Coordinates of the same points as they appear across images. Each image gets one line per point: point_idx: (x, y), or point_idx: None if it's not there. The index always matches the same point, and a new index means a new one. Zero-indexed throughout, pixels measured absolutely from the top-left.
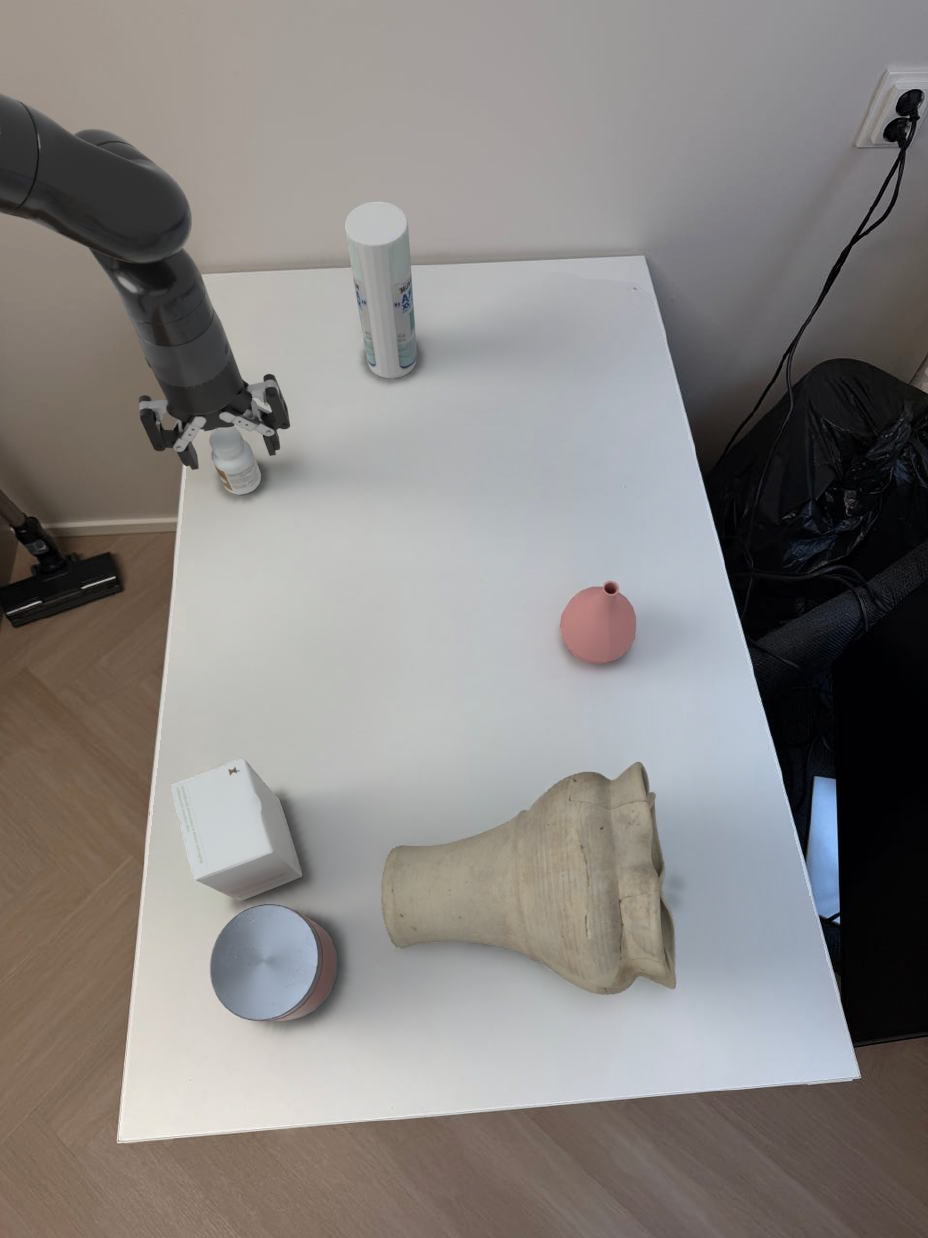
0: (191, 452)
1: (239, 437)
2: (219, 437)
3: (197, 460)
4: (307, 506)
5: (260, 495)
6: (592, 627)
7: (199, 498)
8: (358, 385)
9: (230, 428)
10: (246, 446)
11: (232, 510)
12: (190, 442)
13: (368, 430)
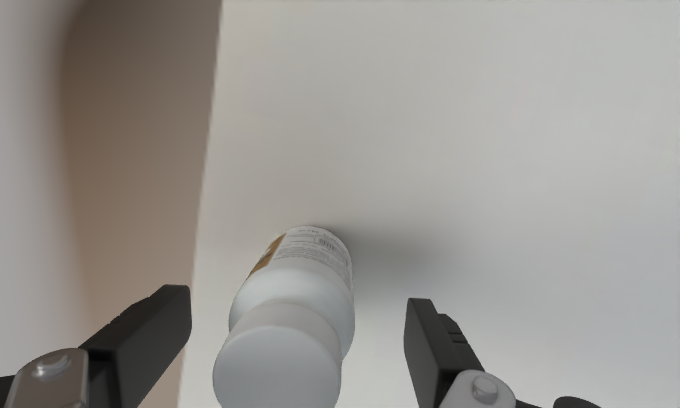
0: (147, 377)
1: (332, 396)
2: (253, 373)
3: (187, 309)
4: None
5: None
6: None
7: (209, 287)
8: (668, 49)
9: (302, 348)
10: (344, 334)
11: None
12: (143, 334)
13: (630, 206)
